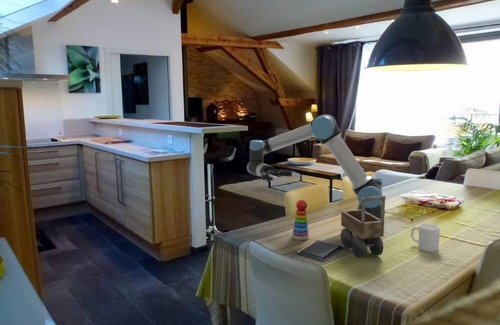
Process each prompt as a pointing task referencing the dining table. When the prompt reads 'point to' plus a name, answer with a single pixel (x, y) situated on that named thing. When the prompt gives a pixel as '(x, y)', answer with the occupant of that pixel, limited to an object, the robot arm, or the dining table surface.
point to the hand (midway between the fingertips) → (288, 178)
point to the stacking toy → (300, 222)
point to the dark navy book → (319, 250)
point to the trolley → (363, 229)
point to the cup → (427, 237)
